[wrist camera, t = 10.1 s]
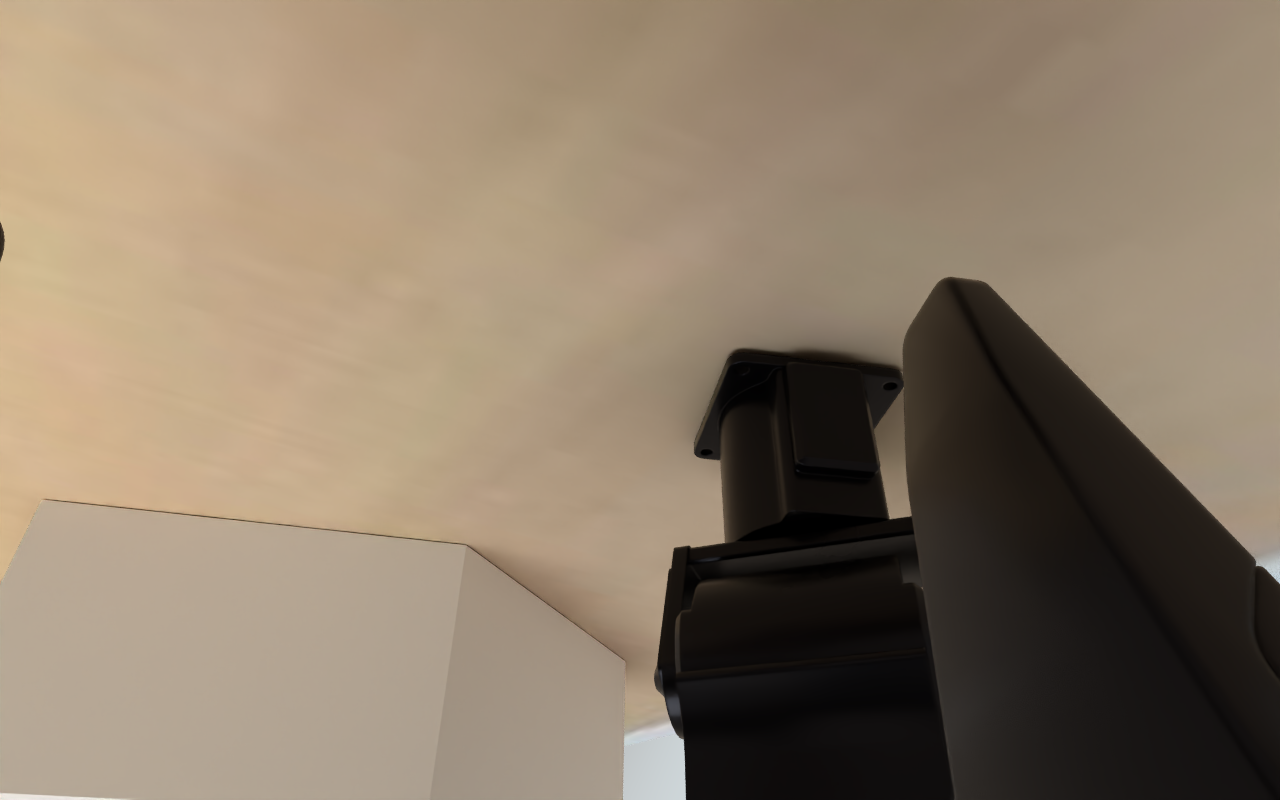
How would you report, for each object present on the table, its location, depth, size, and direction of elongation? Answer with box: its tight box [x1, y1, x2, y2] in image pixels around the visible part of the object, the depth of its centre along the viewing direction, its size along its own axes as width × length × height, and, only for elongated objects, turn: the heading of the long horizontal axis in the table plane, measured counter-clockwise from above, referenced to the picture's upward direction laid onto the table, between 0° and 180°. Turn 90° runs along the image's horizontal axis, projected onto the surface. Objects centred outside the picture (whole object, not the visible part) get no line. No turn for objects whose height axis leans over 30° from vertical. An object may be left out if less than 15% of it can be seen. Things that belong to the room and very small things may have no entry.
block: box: [0, 499, 625, 800], centre depth 44 cm, size 18×35×12 cm, turn 50°
